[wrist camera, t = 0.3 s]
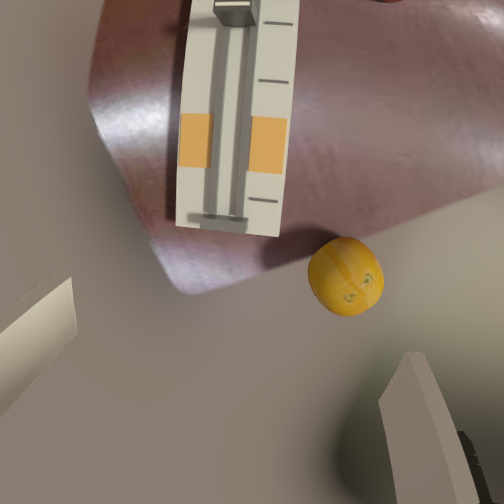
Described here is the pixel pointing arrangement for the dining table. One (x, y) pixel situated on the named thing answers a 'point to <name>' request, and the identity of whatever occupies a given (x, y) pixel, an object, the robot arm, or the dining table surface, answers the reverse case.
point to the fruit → (345, 276)
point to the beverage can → (391, 0)
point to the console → (236, 119)
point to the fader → (236, 12)
